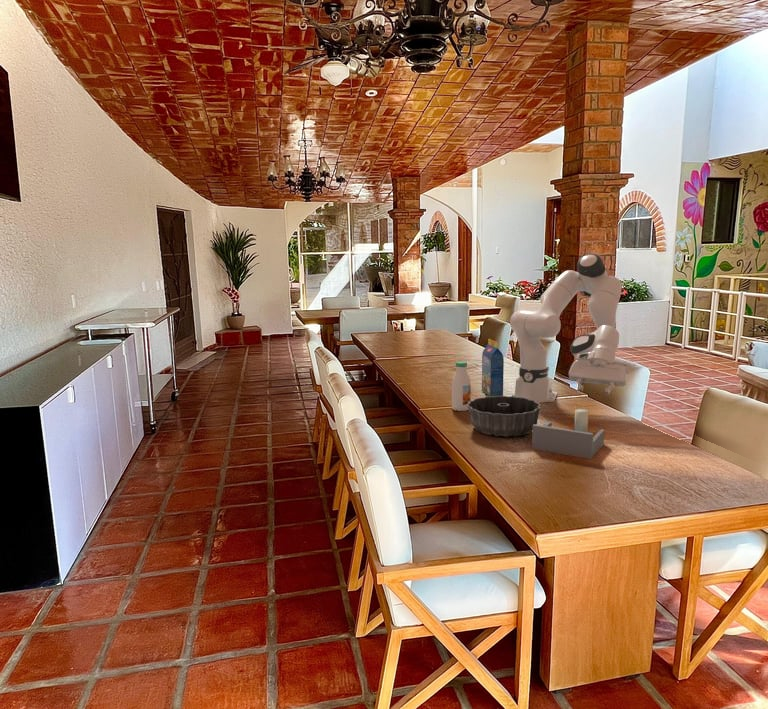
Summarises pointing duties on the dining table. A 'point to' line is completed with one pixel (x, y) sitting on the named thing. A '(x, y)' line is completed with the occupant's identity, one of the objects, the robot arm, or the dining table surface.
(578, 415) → the dome-topped cream cylinder
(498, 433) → the bundt pan
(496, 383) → the blue food package
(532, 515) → the dining table surface
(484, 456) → the dining table surface
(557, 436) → the grey open tray
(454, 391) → the milk bottle
